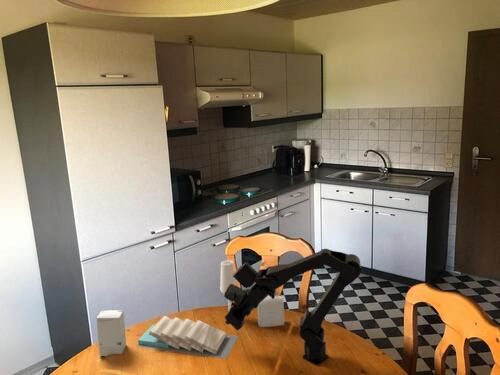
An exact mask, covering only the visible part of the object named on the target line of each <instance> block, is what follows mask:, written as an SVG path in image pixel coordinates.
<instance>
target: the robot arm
mask: <svg viewBox="0 0 500 375" xmlns="http://www.w3.org/2000/svg"><path fill="white" fill-rule="evenodd" d="M322 266H327V267H330V268H331V269H332V270H334V271H336V275H335V278H333V280H332V282H331V283H330V285H329V287H328V288H327V289H326V291H325V292H324V294H323V295H322V296H321V298H320V300H319V301H318V303H317V305H316V306H315V307H314V309H312V310H311V311H310V310H309V309H305V310H306V311H305V312H304V314H303V315H302V316H301V317H300V322H299V336H300V338H301V339H302V340H303V341H304V346H303V347H304V354H303V355H302V359H304V360H306V361H308V362H309V363H311V364H313V365H316V366H319V365H321V364H322V363H324V361H326V360H327V359H328V358H329V357H330V356H329V354H327V350H326V349H327V346H326V345H327V344H326V341H325V328H323V327H322V324H323V321H324V319H325V318H326V317H327V315H328V313H329V312H330V310H332V307H333V306H334V305H335V304H336V302H337V300H338V298H340V296H341V294H343V292H344V290H345V288H346V287H348V286H349V285H351V284H353V282H354V281H355V280H357V279H358V278H359V276H360V275H361V273H362V264H361V260H360V257H358V255H356V254H353V253H350V254H348V253H345V252H342V251H336V250H331V249H330V248H329V249H328V248H322V249H321V250H319V251H317V252H314V253H313V254H309V255H307V256H305V257H302V258H300V259H298V260H295V261H292V262H289V263H287V264H283V263H282V264H277V265H272V266H270V267H269V268H264V269H259V270H258V271H257V270H256V269H254V267H252V266H251V264H250V263H249V262H247V261H246V262H245V263H243V264H241V265H240V266H239V267H238V268H237V269H236V270H235V273H234V274H233V277H234V278H235V279H236V282H238V283H239V284H240V285H241V286H242V287H243V288H245V289H243V288H241V287H239V286H238V285H237V286H236V285H234V284H230V285H229V286H228V288H227V290H226V292H225V295H224V294H223V295H224V296H223V297H224V298H225V299H226V300H227V301H228V300H230V301H231V302H233V304H232V306H231V308H230V310H229V311H228V312H227V313H226V314H225V316H224V319H225V320H226V321H225V324H226V325H231V326H232V327H233V328H234V329H235V330H236V331H239V330H241V329H242V327H243V326H244V324H245V323H246V319H245V318H246V316H249V315H250V314H251V313H252V311H253V310H254V309H256V310H257V307H258V305H259V304H260V303H261V302H262V301H263V300H264V299H265V298H266V297H267V296H270V297H271V298H272V299H274V298H275V296H277V291H276V290H277V289H279V288H280V287H282V286H284V285H285V284H286V283H288V282H289V281H290V280H291V279H293V278H294V277H295V278H296V277H298V276H300V275H303V274H305V273H307V272H310V271H312V270H314V269H317V268H319V267H322Z"/></svg>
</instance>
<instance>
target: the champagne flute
mask: <svg viewBox="0 0 500 375" xmlns="http://www.w3.org/2000/svg"><path fill="white" fill-rule="evenodd" d="M235 272H236V270H235V266H234V261H233V260H228V259H227V260H223V261H221V262H220V280H219V281H220V285H219V287H220V292H221V293H222V294H223V295H225V292H226V290H227V288H228V286H229V285H230V284H234V285H236V286H238V285H237V280H236V279H235V278H234V277H233V274H234V273H235ZM227 306H228V307H227V308H228V312H229V310H230V308H231V307H232V301H230V300H228V299H227Z"/></svg>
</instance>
